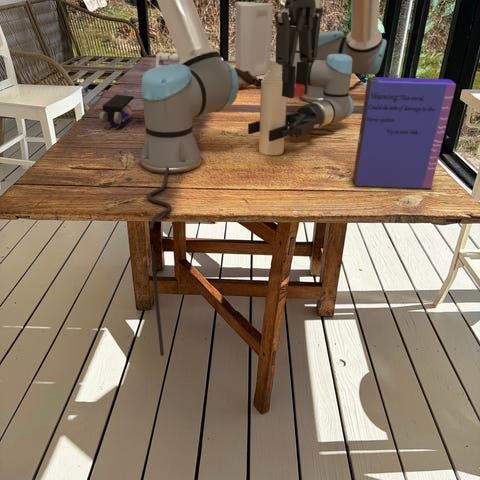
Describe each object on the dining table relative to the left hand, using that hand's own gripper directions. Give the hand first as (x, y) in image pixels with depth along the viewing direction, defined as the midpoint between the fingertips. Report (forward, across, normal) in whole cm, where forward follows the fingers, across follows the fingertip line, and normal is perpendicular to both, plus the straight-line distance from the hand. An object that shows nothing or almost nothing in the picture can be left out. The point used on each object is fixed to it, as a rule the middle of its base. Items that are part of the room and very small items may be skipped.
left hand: (294, 94), depth 105 cm
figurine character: (+20, -4, +64) cm, 67 cm away
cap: (-2, 0, 0) cm, 2 cm away
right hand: (+14, +7, +16) cm, 22 cm away
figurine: (+20, +60, +68) cm, 92 cm away
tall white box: (+20, +83, +86) cm, 121 cm away
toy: (+19, +69, +113) cm, 134 cm away
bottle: (+20, +12, +15) cm, 28 cm away
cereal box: (+20, +15, -19) cm, 32 cm away
